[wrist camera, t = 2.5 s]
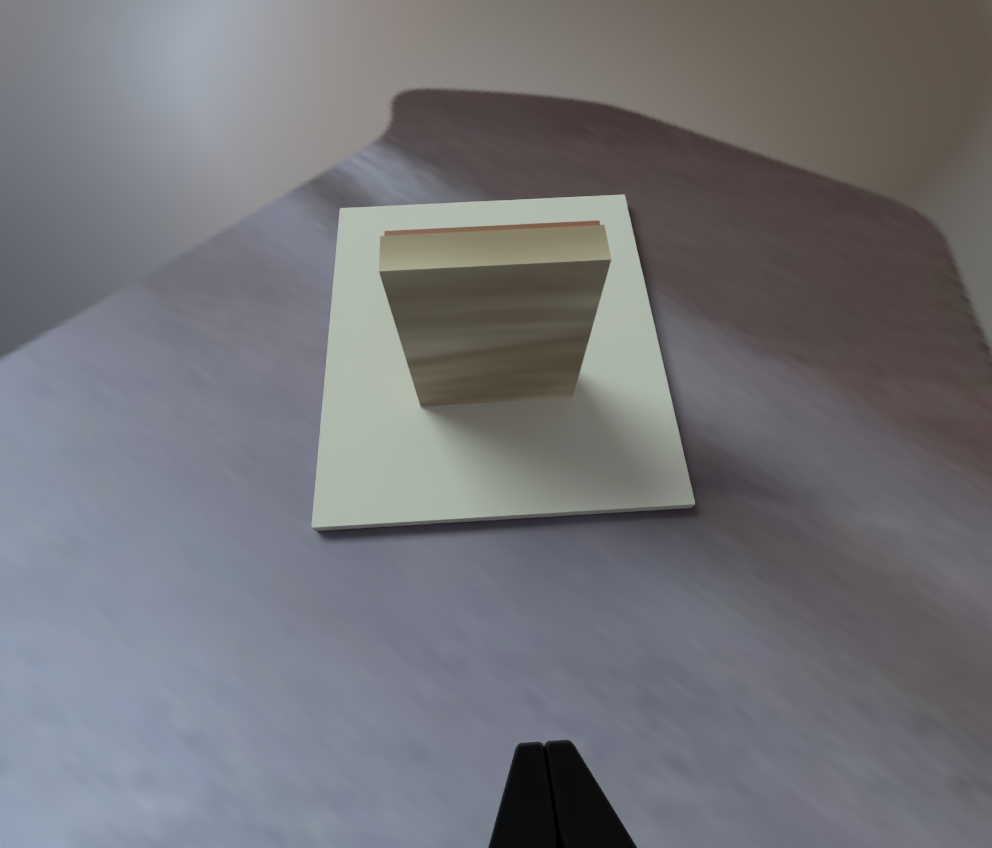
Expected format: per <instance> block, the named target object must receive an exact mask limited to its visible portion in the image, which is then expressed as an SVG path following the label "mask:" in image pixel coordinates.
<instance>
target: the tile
mask: <svg viewBox="0 0 992 848" xmlns="http://www.w3.org/2000/svg"><path fill="white" fill-rule="evenodd" d="M610 263H611V255H610V250H609V245H608V240H607V235H606V230H605V225H600V221H599V220H598V221H577V222H557V223H537V224H516V225H496V226H476V227H456V228H435V229H415V230H395V231H385V233H384V236H380V257H379V273H380V277H381V280H382V283H383V286H384V290H385V293H386V296H387V299H388V303H389V306H390V309H391V312H392V316H393V319H394V322H395V325H396V329H397V332H398V335H399V338H400V342H401V345H402V348H403V351H404V355H405V358H406V361H407V364H408V368H409V371H410V374H411V377H412V381H413V384H414V387H415V391H416V394H417V397H418V400H419V404H420V406H437V405H455V404H473V403H490V402H508V401H526V400H544V399H561V398H573V395H574V391H575V388H576V384H577V381H578V377H579V373H580V370H581V366H582V363H583V359H584V356H585V352H586V348H587V345H588V341H589V338H590V334H591V331H592V327H593V323H594V320H595V316H596V313H597V309H598V306H599V302H600V298H601V295H602V291H603V288H604V284H605V281H606V277H607V273H608V270H609V266H610Z"/></svg>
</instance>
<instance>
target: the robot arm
mask: <svg viewBox="0 0 992 848" xmlns="http://www.w3.org/2000/svg"><path fill="white" fill-rule="evenodd" d="M488 848H637V847H636V845H635V844H634V842H633V840H632V839H631V837H630V835H629V834H628V832H627V830H626V829H625V827H624V826H623V824H622V822H621V821H620V819H619V817H618V816H617V814H616V813H615V811H614V809H613V808H612V806H611V804H610V803H609V801H608V799H607V798H606V796H605V795H604V793H603V791H602V790H601V788H600V786H599V785H598V783H597V782H596V780H595V778H594V777H593V775H592V773H591V772H590V770H589V768H588V767H587V765H586V764H585V762H584V760H583V759H582V757H581V755H580V754H579V752H578V751H577V749H576V747H575V746H574V744H573V743H572V742H571V741H569V740H558V741H548V742H546V743H545V745H543V744H542V743H541V742H529V743H520V744H518V745H517V747H516V749H515V752H514V756H513V760H512V763H511V767H510V771H509V774H508V778H507V782H506V785H505V789H504V793H503V796H502V800H501V804H500V807H499V811H498V815H497V818H496V822H495V825H494V829H493V833H492V836H491V840H490V844H489V847H488Z"/></svg>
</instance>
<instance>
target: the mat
mask: <svg viewBox="0 0 992 848" xmlns="http://www.w3.org/2000/svg"><path fill="white" fill-rule="evenodd" d="M598 220H599V221H600V225H605V230H606V235H607V240H608V245H609V250H610V255H611V263H610V266H609V270H608V273H607V277H606V281H605V284H604V288H603V291H602V295H601V298H600V302H599V306H598V309H597V313H596V316H595V320H594V323H593V327H592V331H591V334H590V338H589V341H588V345H587V348H586V352H585V356H584V359H583V363H582V366H581V370H580V373H579V377H578V381H577V384H576V388H575V391H574V395H573V398H561V399H544V400H526V401H508V402H490V403H473V404H455V405H437V406H420V404H419V400H418V397H417V394H416V391H415V387H414V384H413V381H412V377H411V374H410V371H409V368H408V364H407V361H406V358H405V355H404V351H403V348H402V345H401V342H400V338H399V335H398V332H397V329H396V325H395V322H394V319H393V316H392V312H391V309H390V306H389V303H388V299H387V296H386V293H385V290H384V286H383V283H382V280H381V277H380V273H379V257H380V236H384V233H385V231H395V230H415V229H435V228H456V227H476V226H496V225H516V224H537V223H557V222H577V221H598ZM694 505H695V500H694V496H693V492H692V487H691V483H690V478H689V474H688V470H687V465H686V461H685V457H684V452H683V448H682V443H681V439H680V435H679V430H678V426H677V422H676V417H675V413H674V408H673V404H672V400H671V395H670V391H669V387H668V382H667V378H666V373H665V369H664V365H663V360H662V356H661V352H660V347H659V343H658V339H657V334H656V330H655V325H654V321H653V317H652V312H651V308H650V304H649V299H648V295H647V290H646V286H645V282H644V277H643V273H642V269H641V264H640V260H639V255H638V251H637V247H636V242H635V238H634V234H633V229H632V225H631V220H630V216H629V212H628V207H627V203H626V199H625V195H605V196H585V197H564V198H543V199H522V200H502V201H481V202H460V203H440V204H419V205H398V206H378V207H357V208H340V214H339V225H338V237H337V248H336V259H335V270H334V281H333V292H332V304H331V315H330V326H329V337H328V348H327V359H326V371H325V382H324V393H323V404H322V415H321V427H320V438H319V449H318V460H317V471H316V482H315V494H314V505H313V516H312V527H311V528H313V529H314V530H315V531H324V530H340V529H356V528H373V527H389V526H405V525H422V524H438V523H454V522H471V521H487V520H503V519H520V518H536V517H552V516H569V515H585V514H601V513H617V512H634V511H650V510H666V509H683V508H691V507H692V506H694Z"/></svg>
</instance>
